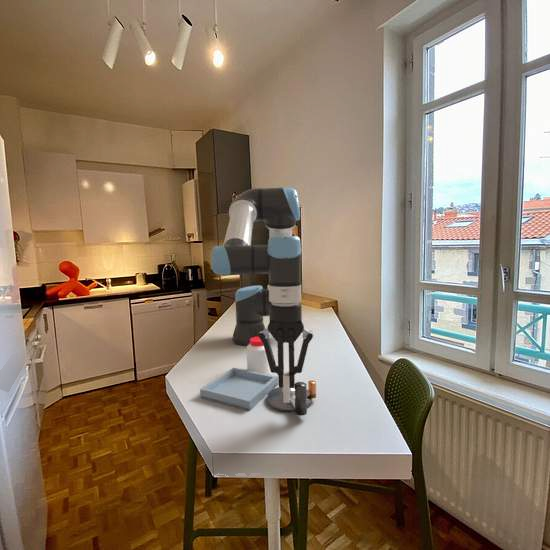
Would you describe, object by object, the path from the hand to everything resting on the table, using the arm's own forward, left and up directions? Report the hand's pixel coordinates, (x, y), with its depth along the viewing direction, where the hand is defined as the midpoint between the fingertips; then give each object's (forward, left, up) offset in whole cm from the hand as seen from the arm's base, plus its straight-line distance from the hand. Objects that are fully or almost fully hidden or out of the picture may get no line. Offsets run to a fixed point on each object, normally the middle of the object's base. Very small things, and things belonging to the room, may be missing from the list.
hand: (286, 399), depth 75 cm
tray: (-18, +7, -5) cm, 20 cm away
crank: (0, +5, -3) cm, 6 cm away
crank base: (-3, +8, -5) cm, 10 cm away
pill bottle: (-20, +21, -5) cm, 29 cm away
